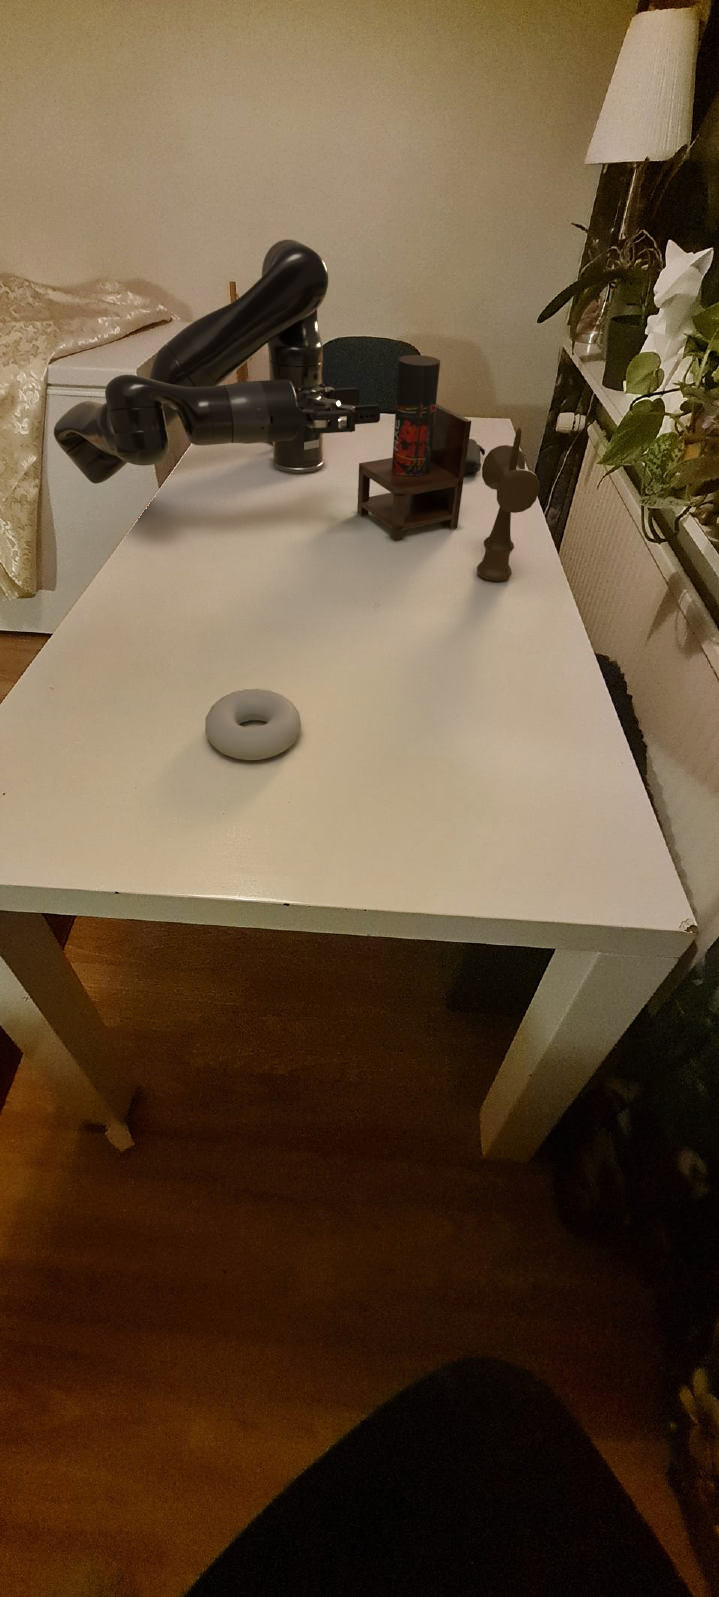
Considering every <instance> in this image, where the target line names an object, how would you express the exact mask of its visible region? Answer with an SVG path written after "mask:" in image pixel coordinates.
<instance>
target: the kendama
mask: <svg viewBox="0 0 719 1597" xmlns="http://www.w3.org/2000/svg"><path fill="white" fill-rule="evenodd" d="M521 441H522V428H521V427H518V428H517V429H516V432H515V436H514V439H513V444H512V445H511V444H502V445H497V446H495V447H494V448H492V449H490V450H489V452H488V453H487V455H486V456H485V457H484V459H483V462H482V465H481V477H482V480H483V482H484V485H485V486H487V487H488V488H489V489H491V490H494V491H495V490H496V503H497V504H498V506H499V508H498V510H497V514H496V517H495V520H494V523H493V526H492V530H491V531H490V534H489V536H487V537H485V539H484V540H483V547H484V555H483V558H482V560H481V561H480V562H479V563H478V565H477V567H476V572H477V573H478V575H479V576H480V577H482V578H483V579H485V580H489V581H496V582H498V581H504V580H507V579H509V578H510V577H511V576H512V574H513V573H512V568H511V566H510V563H509V562H510V554H511V553H512V551H514V549H515V543H514V542H513V540H512V537H511V536H512V535H511V525H512V524H511V521H512V520H511V519H512V513H513V514H518V513H523V512H525V511H527V510H529V509H530V508H531V507H532V506H533V505H534V504H535V502H537V499H538V495H539V492H540V481H539V478H538V476H537V474H536V473H534V472H533V471H532V470H529V469H526V458H525V455H524V452H523V451H522V450H521V449H520V448H521Z"/></svg>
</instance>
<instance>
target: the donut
mask: <svg viewBox="0 0 719 1597" xmlns="http://www.w3.org/2000/svg"><path fill="white" fill-rule="evenodd" d="M248 721H263V722H266V723H265V724H262V725H259V726H252V727H250V726H242V725H240V724H242V723H245V722H248ZM204 722H205V723H204V724H205V725H204V731H205V735H206V736H207V739H208V740H209V742H210V745H212V746H213V747H214V748H215V749H216V750H218V752H220V753H221V754H223V755H225V756H228V757H230V758H234V759H237V760H243V761H259V760H265V759H269V758H273V757H275V756H278V755H279V754H281V753H283V752H285V751H287V750H289V748H290V747H291V746H292V745H293V744H294V743H295V742H296V741H297V739H298V737H299V734H300V732H301V728H302V723H301V716H300V712H299V711H298V709H297V707H296V706H295V705H294V703H293V702H292V701H291V700H290V699H288V698H287V697H286V696H284V695H283V694H281V693H278V692H275V691H273V690H269V689H261V688H247V689H242V690H237V691H236V690H235V691H233V692H230V693H228V694H226V695H224V696H222V697H221V698H219V699H218V700H217V701H215V703H214V704H212V705H211V707H210V709H209V711H208V713H207V714H206V715H205V721H204Z"/></svg>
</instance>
